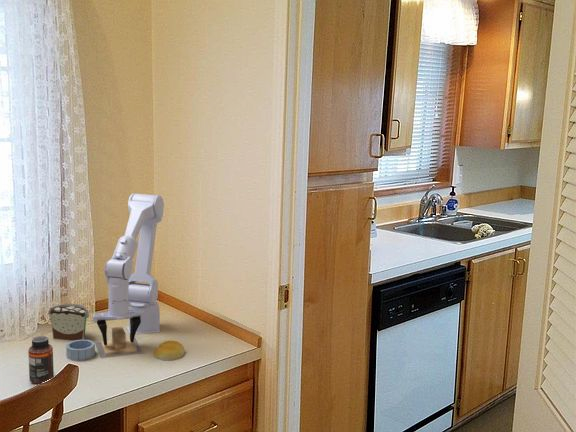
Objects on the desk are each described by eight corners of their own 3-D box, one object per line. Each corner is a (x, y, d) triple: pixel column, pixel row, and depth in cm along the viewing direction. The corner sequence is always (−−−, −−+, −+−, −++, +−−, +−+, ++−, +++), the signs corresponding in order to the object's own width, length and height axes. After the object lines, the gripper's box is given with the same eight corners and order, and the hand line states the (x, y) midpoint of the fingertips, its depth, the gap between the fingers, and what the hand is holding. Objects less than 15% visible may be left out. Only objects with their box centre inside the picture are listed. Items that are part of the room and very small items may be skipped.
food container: (95, 335, 190) (95, 305, 188) (87, 343, 184) (87, 311, 182) (57, 332, 191) (57, 301, 189) (48, 339, 185) (47, 308, 183)
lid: (131, 340, 187) (131, 323, 186) (136, 351, 179) (137, 334, 178) (100, 343, 183) (100, 327, 182) (105, 355, 175) (105, 338, 174)
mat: (135, 339, 189) (135, 337, 189) (143, 354, 178) (143, 352, 178) (95, 343, 184) (95, 342, 184) (100, 359, 173) (100, 358, 173)
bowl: (92, 349, 180) (92, 338, 179) (96, 359, 173) (96, 348, 172) (65, 352, 176) (65, 341, 176) (67, 363, 170) (67, 351, 169)
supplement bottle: (48, 372, 164) (48, 332, 161) (57, 380, 159) (56, 339, 157) (25, 378, 160) (24, 337, 158) (33, 386, 155) (32, 345, 153)
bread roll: (150, 360, 175) (150, 347, 174) (162, 348, 183) (162, 336, 183) (177, 364, 173) (177, 350, 172) (188, 352, 182) (188, 339, 181)
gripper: (94, 305, 172) (95, 350, 174) (146, 300, 178) (146, 344, 180) (91, 297, 178) (91, 341, 180) (141, 293, 184) (141, 336, 186)
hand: (118, 342), depth 181 cm, fingers open, 7 cm apart
